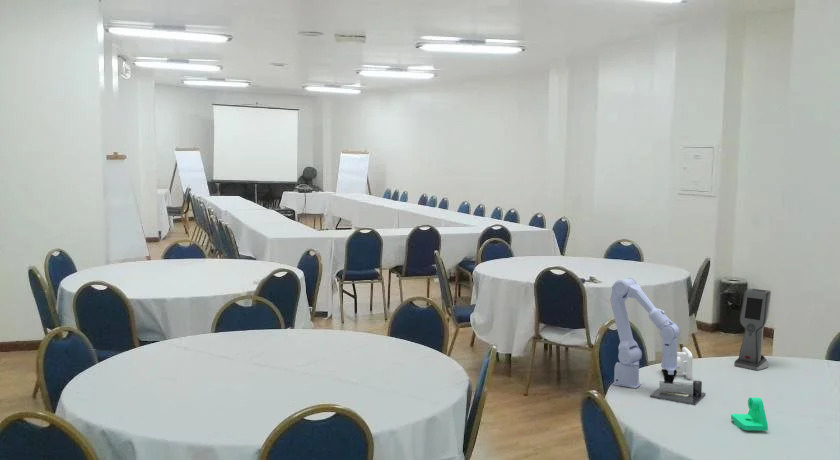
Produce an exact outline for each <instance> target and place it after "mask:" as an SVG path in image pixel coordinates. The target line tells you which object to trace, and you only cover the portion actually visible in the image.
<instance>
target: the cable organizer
mask: <svg viewBox="0 0 840 460" xmlns="http://www.w3.org/2000/svg"><path fill="white" fill-rule="evenodd" d="M693 360H694V359H693V354H692V352H691V351H690V350H689V349H688V348H687V347H686V346H683V347H682V348H681V351H677V365H680V368H677V369H676V371H677V374H682V376H685V378H687V379H688V380H691V379H692V378H693ZM662 369H664V368H662V367H661V370H662Z"/></svg>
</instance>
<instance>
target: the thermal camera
mask: <svg viewBox="0 0 840 460" xmlns="http://www.w3.org/2000/svg"><path fill="white" fill-rule="evenodd" d="M771 296H772V291H771V290H765V289H758V288H748V289H745V290H744V293H743V297H742V304H741V310H740V313H739V323H740V325H741V327H743V328H744V335H743V339H742V343H741V345H740V350H739V355H738V358H737V359H736V360H735V361H734V363H733V365H734V367H739V368H743V369H746V370H747V369H748V370H752V371H758V372H759V371H761V370H764V369H767V368H769V363H768V360H767V359H766V357H765V356H764V355H763V354H762V350H763V341H764V340H763V339H764V338H763V337H764V327H765V325H766V324H767V321H768V318H769V315H770V314H769V313H770V306H771V299H772V298H771Z"/></svg>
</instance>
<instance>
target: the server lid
mask: <svg viewBox="0 0 840 460" xmlns="http://www.w3.org/2000/svg"><path fill="white" fill-rule="evenodd" d="M675 393H676V392H675ZM675 393H674V394H675ZM674 394H668V393H662V392H660V391H659V387H658V388H657V389H656V390H654V391H653V392H652V393H651V394H650V395H649V398H652V399H658V400H663V401H669V402H674V403H680V404H686V405H692V406H696V405H697V404H698V403H699V402H700V401H701V400H702V399H703V398H704V397H705V396H706V392H703V391H702V395H701V396H694V395H693V394H690V395H689V396H688V397H686V396H680V395H674Z"/></svg>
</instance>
